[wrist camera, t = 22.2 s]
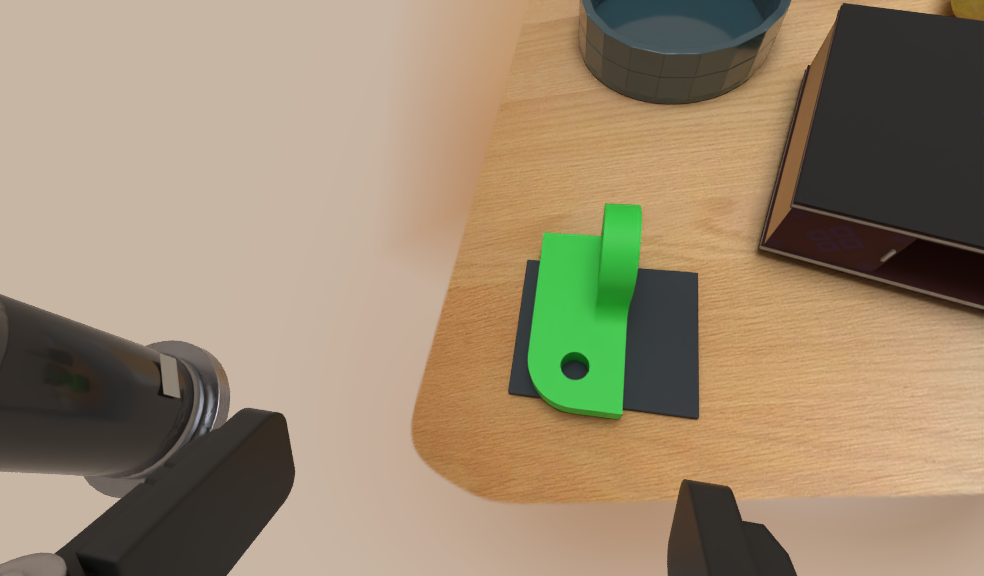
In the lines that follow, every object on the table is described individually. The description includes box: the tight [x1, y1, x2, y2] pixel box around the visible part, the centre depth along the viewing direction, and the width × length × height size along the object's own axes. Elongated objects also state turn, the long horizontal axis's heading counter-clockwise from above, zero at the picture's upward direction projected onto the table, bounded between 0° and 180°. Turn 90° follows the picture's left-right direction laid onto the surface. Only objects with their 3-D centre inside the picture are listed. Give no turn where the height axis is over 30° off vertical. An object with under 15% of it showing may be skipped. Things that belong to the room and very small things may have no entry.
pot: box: [579, 0, 791, 104], centre depth 41 cm, size 16×16×5 cm
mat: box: [508, 260, 699, 419], centre depth 32 cm, size 12×10×1 cm
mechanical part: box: [528, 203, 642, 419], centre depth 29 cm, size 12×6×8 cm, turn 171°
